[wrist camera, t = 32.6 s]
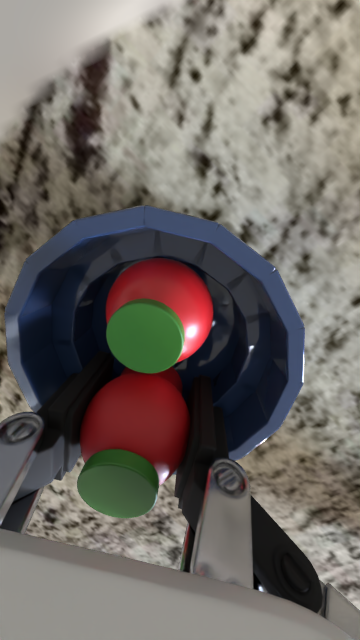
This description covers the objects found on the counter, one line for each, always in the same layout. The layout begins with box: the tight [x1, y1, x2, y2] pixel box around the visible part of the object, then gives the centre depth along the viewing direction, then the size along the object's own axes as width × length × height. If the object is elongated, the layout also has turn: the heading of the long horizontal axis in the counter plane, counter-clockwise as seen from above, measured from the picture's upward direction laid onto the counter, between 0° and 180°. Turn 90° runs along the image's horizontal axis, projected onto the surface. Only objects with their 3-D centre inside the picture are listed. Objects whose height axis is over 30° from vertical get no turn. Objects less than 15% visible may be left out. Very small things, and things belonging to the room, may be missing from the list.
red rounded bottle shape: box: [77, 366, 190, 518], centre depth 9 cm, size 4×4×5 cm
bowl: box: [4, 205, 305, 474], centre depth 10 cm, size 11×11×4 cm
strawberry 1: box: [106, 258, 213, 373], centre depth 9 cm, size 4×4×5 cm
